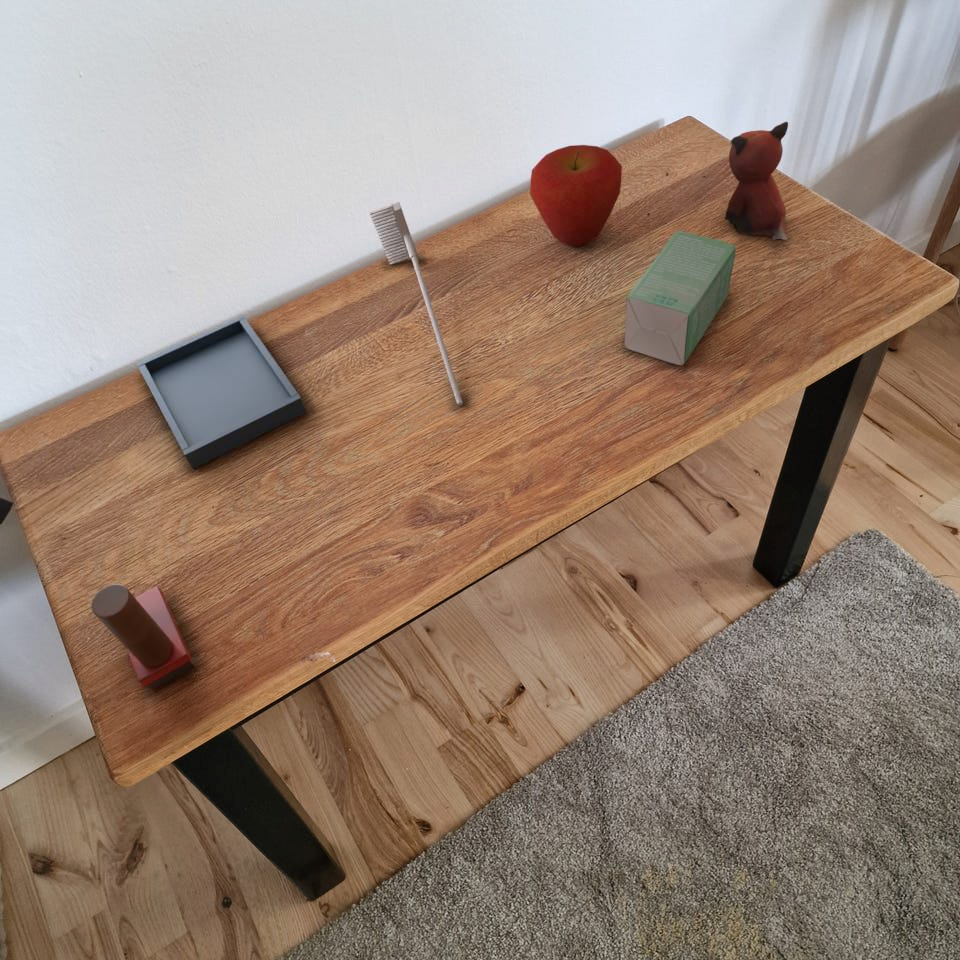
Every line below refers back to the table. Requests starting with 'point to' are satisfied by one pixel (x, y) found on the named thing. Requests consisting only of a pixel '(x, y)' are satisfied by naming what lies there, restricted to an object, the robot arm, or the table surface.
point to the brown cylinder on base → (145, 632)
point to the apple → (576, 191)
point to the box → (678, 297)
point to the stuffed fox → (757, 183)
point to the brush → (407, 251)
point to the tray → (220, 390)
